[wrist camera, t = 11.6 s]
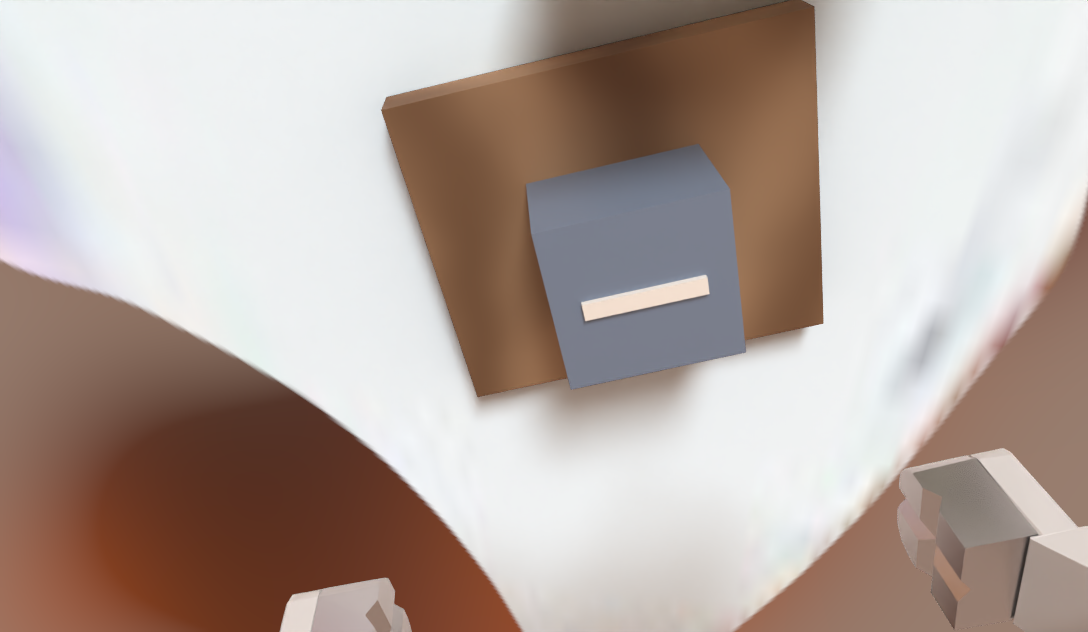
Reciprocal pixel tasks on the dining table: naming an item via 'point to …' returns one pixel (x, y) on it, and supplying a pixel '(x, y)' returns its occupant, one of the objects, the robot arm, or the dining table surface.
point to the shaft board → (606, 138)
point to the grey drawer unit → (639, 265)
